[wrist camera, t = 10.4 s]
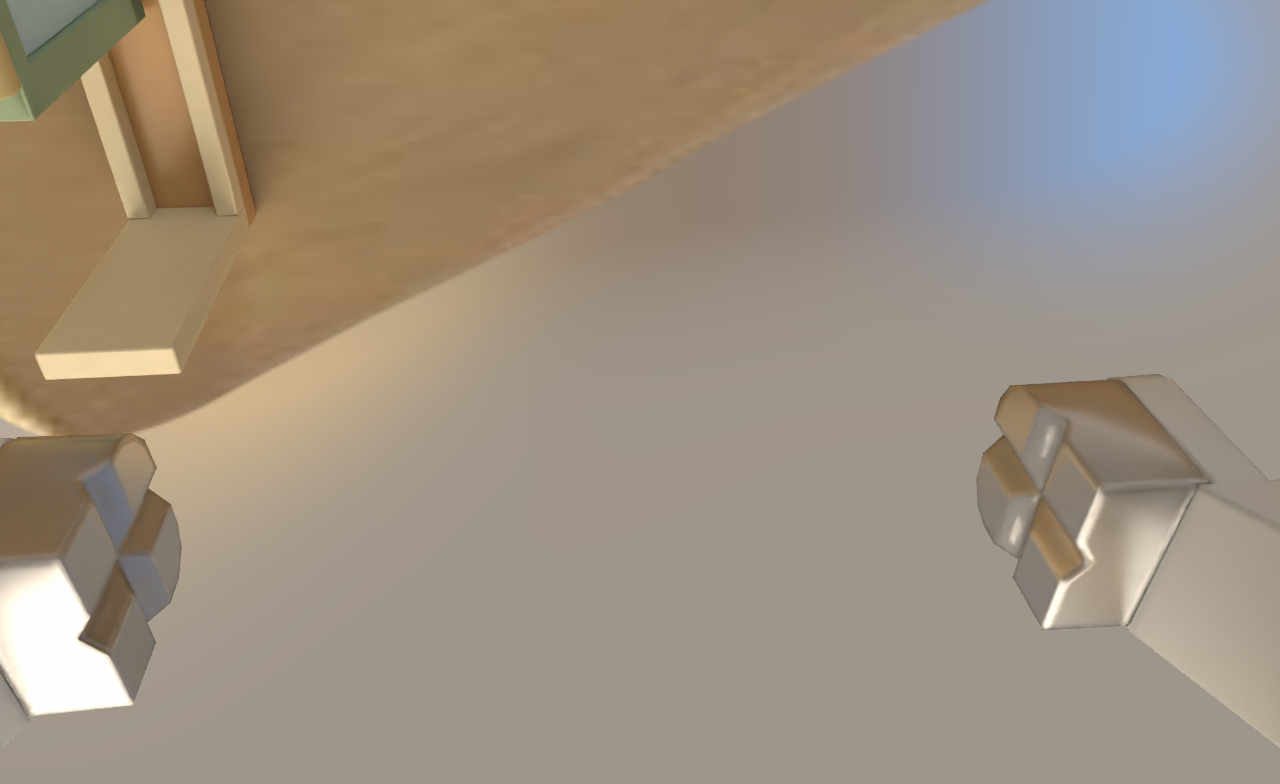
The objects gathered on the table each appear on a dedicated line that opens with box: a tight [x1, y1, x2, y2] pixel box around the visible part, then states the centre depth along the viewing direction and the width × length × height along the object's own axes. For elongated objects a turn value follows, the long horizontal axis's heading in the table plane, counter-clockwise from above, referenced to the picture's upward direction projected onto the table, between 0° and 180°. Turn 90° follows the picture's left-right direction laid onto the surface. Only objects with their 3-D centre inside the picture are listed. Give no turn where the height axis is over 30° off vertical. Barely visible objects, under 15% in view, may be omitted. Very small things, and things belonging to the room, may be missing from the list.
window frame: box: [35, 0, 256, 380], centre depth 28 cm, size 4×18×11 cm, turn 179°
